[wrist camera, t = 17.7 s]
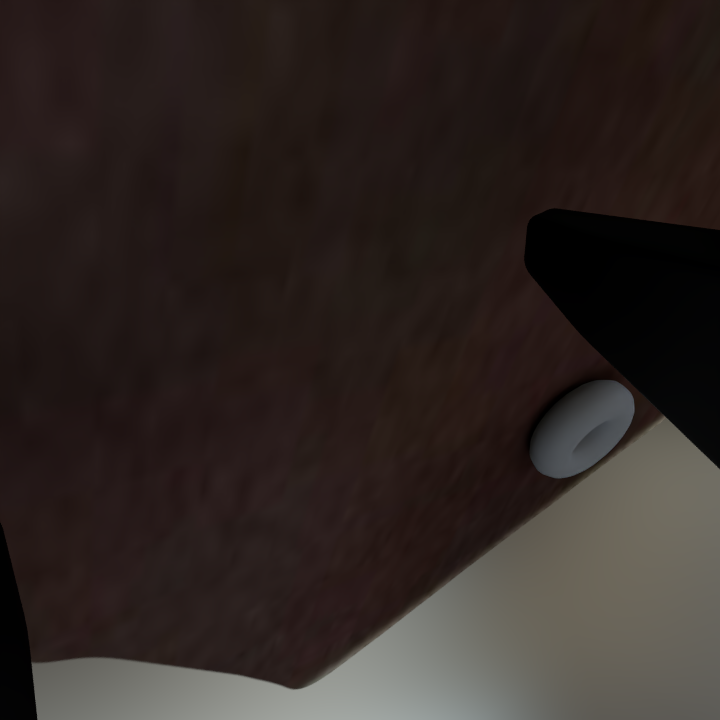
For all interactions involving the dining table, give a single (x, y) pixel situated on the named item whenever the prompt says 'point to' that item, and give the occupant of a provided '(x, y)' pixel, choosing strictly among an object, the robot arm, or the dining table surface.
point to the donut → (581, 428)
